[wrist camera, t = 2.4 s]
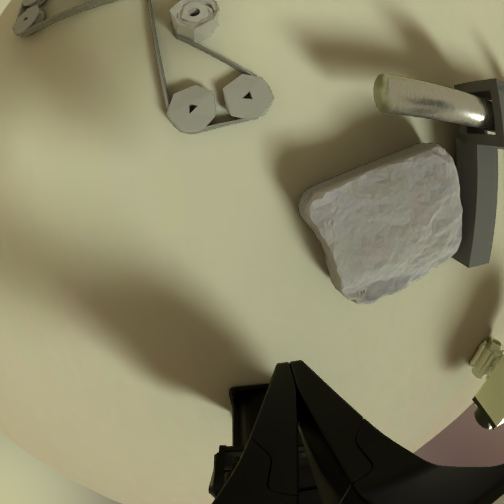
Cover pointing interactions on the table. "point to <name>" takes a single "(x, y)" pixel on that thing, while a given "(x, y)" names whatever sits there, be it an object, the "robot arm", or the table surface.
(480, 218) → the collar
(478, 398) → the pneumatic valve
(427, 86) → the linear shaft assembly
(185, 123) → the pulley system
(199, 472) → the table surface
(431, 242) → the stone block
